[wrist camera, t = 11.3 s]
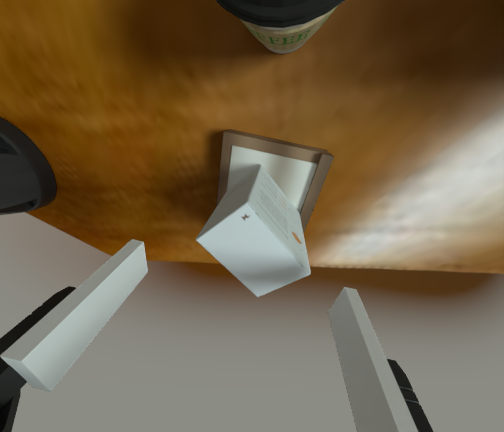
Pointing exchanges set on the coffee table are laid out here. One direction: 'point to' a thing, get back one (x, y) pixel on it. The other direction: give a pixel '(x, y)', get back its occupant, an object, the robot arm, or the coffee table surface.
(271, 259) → the small box
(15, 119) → the coffee table surface
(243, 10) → the coffee cup
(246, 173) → the tray
